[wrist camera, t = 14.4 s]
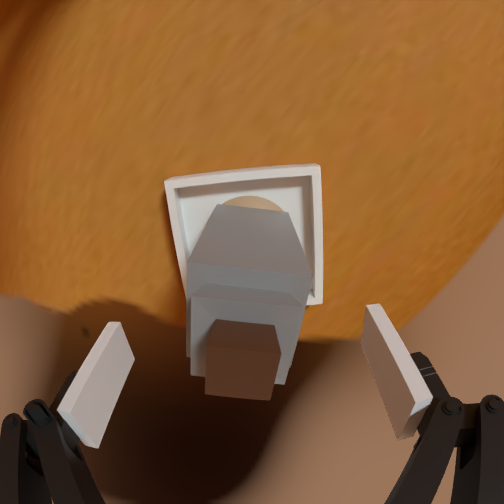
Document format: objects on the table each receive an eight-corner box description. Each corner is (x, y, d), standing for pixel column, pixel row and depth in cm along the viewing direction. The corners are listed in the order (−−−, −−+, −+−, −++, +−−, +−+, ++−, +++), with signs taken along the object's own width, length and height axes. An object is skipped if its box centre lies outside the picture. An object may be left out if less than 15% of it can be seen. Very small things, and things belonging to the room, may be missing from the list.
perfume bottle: (217, 203, 28) (165, 306, 12) (288, 212, 29) (330, 324, 12) (212, 268, 31) (172, 409, 14) (277, 275, 31) (296, 421, 15)
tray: (193, 302, 34) (189, 313, 31) (171, 177, 28) (164, 181, 26) (318, 292, 33) (322, 303, 31) (315, 163, 28) (320, 165, 26)
